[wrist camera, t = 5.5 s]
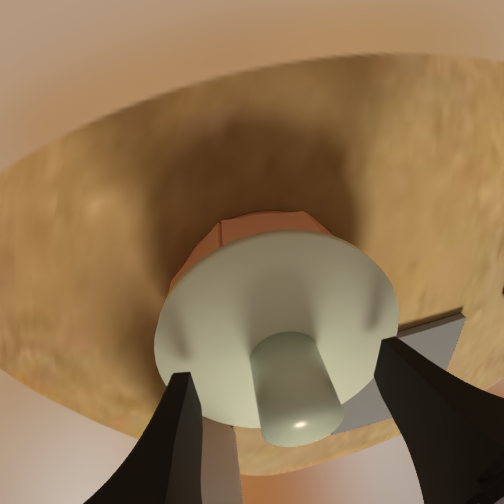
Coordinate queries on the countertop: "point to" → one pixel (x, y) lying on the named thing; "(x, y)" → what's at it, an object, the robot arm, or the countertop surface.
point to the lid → (278, 331)
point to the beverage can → (219, 464)
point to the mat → (423, 341)
